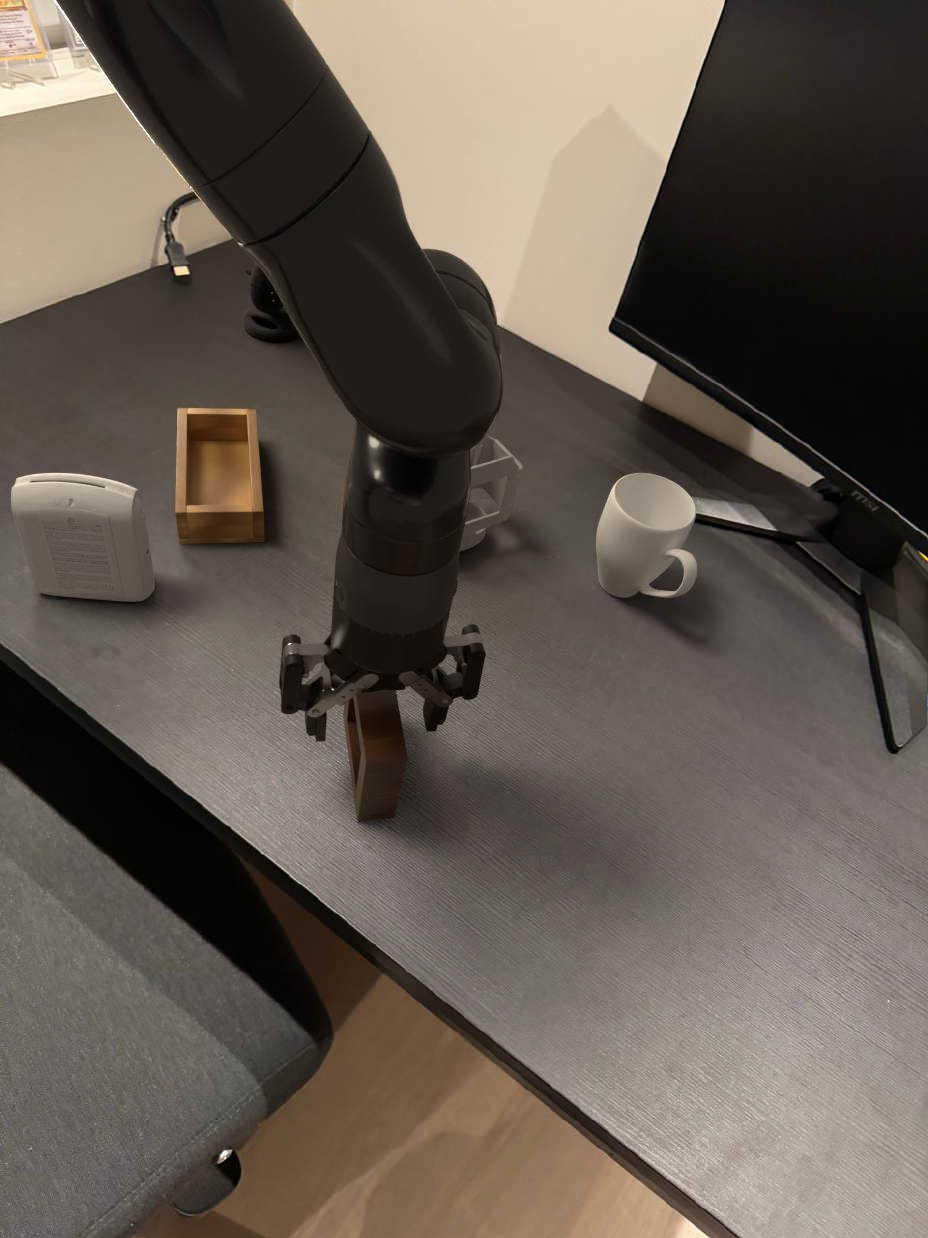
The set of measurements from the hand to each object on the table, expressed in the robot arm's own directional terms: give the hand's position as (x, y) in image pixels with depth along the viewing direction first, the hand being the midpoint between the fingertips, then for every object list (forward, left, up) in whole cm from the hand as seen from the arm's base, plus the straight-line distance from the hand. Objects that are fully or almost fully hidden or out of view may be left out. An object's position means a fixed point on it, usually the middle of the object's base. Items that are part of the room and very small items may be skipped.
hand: (374, 726), depth 65 cm
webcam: (-4, +65, -6) cm, 65 cm away
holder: (-11, +34, -5) cm, 36 cm away
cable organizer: (+12, +26, -6) cm, 29 cm away
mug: (+29, +17, -6) cm, 34 cm away
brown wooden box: (0, 0, -5) cm, 5 cm away
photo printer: (-22, +21, -6) cm, 31 cm away
